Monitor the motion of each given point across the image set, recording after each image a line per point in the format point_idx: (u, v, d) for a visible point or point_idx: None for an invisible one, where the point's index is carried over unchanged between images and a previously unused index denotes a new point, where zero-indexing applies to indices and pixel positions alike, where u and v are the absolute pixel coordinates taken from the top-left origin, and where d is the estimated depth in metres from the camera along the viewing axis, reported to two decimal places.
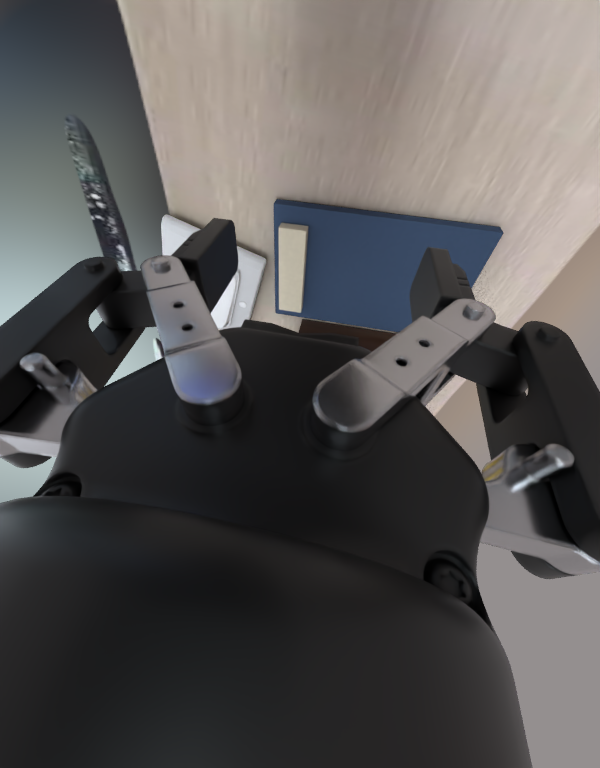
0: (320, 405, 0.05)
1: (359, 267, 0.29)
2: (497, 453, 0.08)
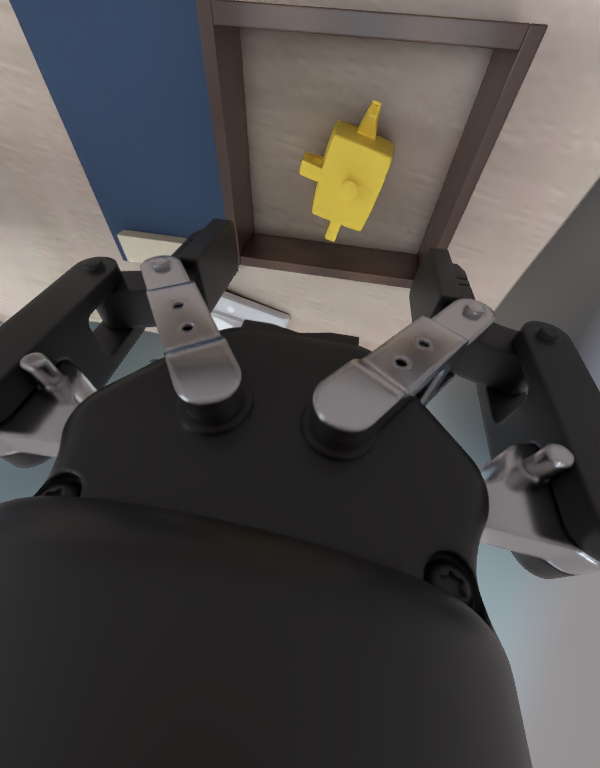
0: (320, 405, 0.05)
1: (133, 162, 0.23)
2: (497, 453, 0.08)
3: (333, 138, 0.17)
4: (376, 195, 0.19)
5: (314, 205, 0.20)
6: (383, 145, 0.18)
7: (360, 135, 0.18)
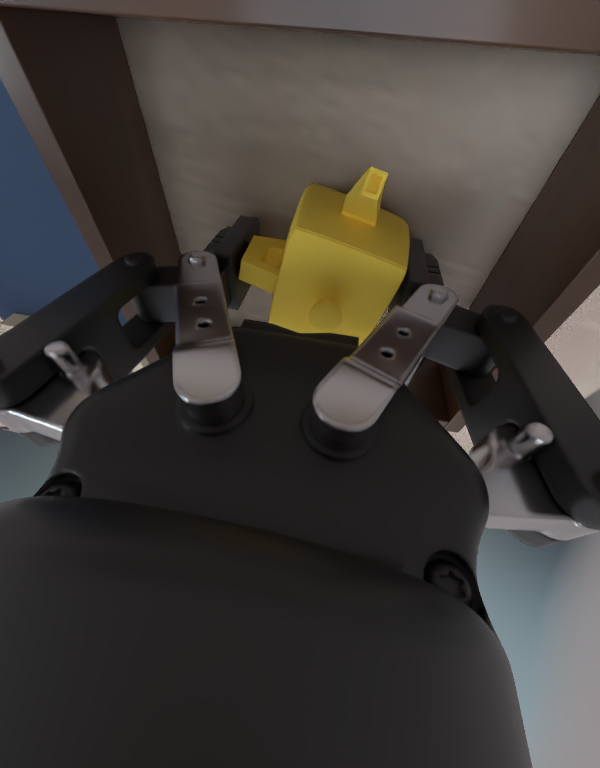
0: (320, 405, 0.05)
1: None
2: (477, 435, 0.08)
3: (293, 232, 0.09)
4: (377, 319, 0.11)
5: None
6: (390, 237, 0.10)
7: (347, 220, 0.09)
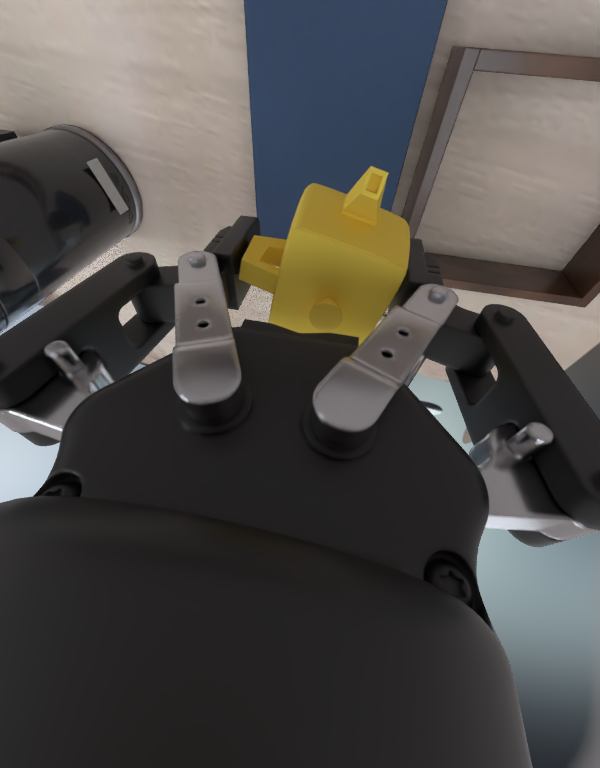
0: (320, 405, 0.05)
1: (309, 184, 0.24)
2: (477, 435, 0.08)
3: (293, 232, 0.09)
4: (377, 319, 0.11)
5: None
6: (391, 237, 0.10)
7: (347, 220, 0.09)
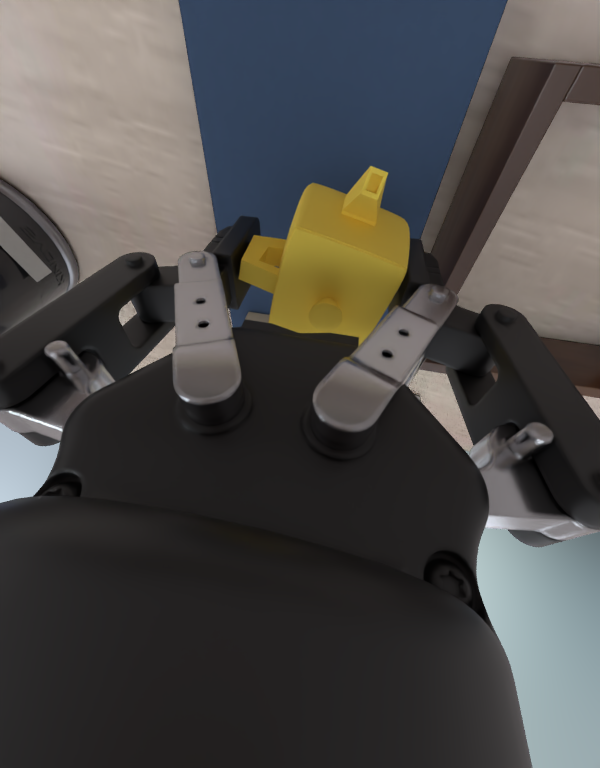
0: (320, 405, 0.05)
1: None
2: (477, 435, 0.08)
3: (293, 232, 0.09)
4: (377, 319, 0.11)
5: None
6: (390, 237, 0.10)
7: (347, 220, 0.09)
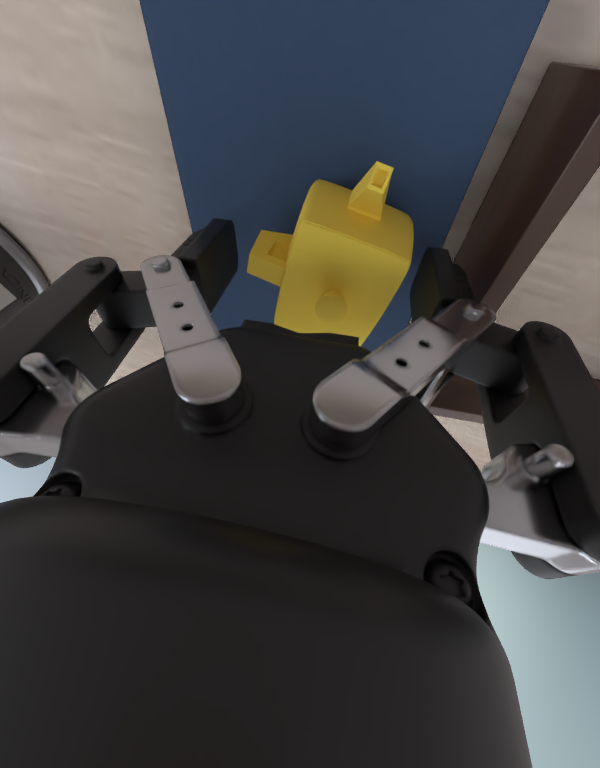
0: (320, 405, 0.05)
1: None
2: (497, 453, 0.08)
3: (301, 225, 0.09)
4: (381, 311, 0.11)
5: (276, 317, 0.12)
6: (395, 231, 0.10)
7: (353, 215, 0.10)
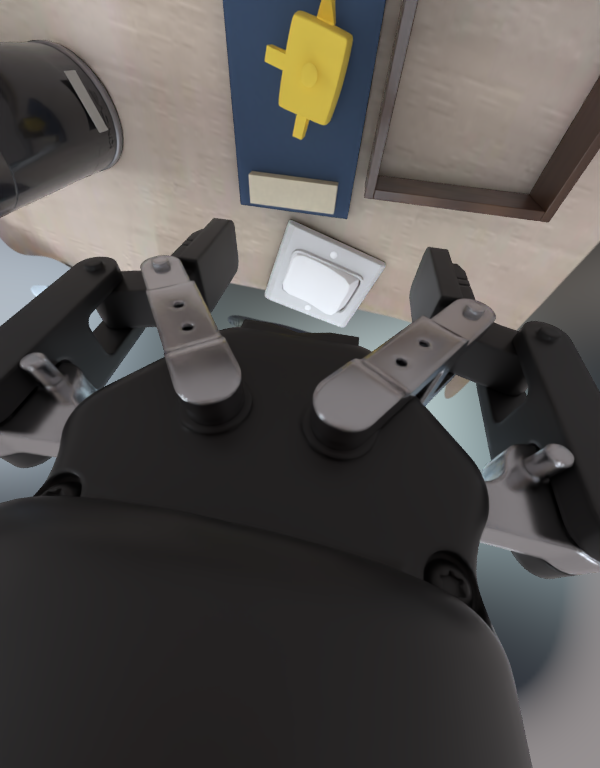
0: (320, 405, 0.05)
1: None
2: (497, 453, 0.08)
3: (293, 18, 0.19)
4: (336, 82, 0.21)
5: (280, 96, 0.22)
6: (340, 30, 0.20)
7: (319, 20, 0.19)
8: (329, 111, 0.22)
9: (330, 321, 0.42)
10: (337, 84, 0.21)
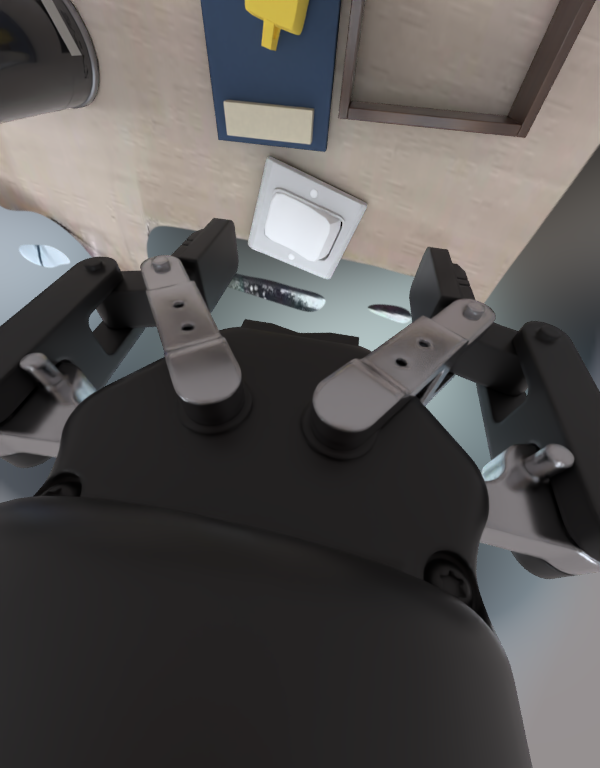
0: (320, 405, 0.05)
1: None
2: (497, 453, 0.08)
3: None
4: None
5: None
6: None
7: None
8: (296, 13, 0.22)
9: (315, 272, 0.42)
10: None
